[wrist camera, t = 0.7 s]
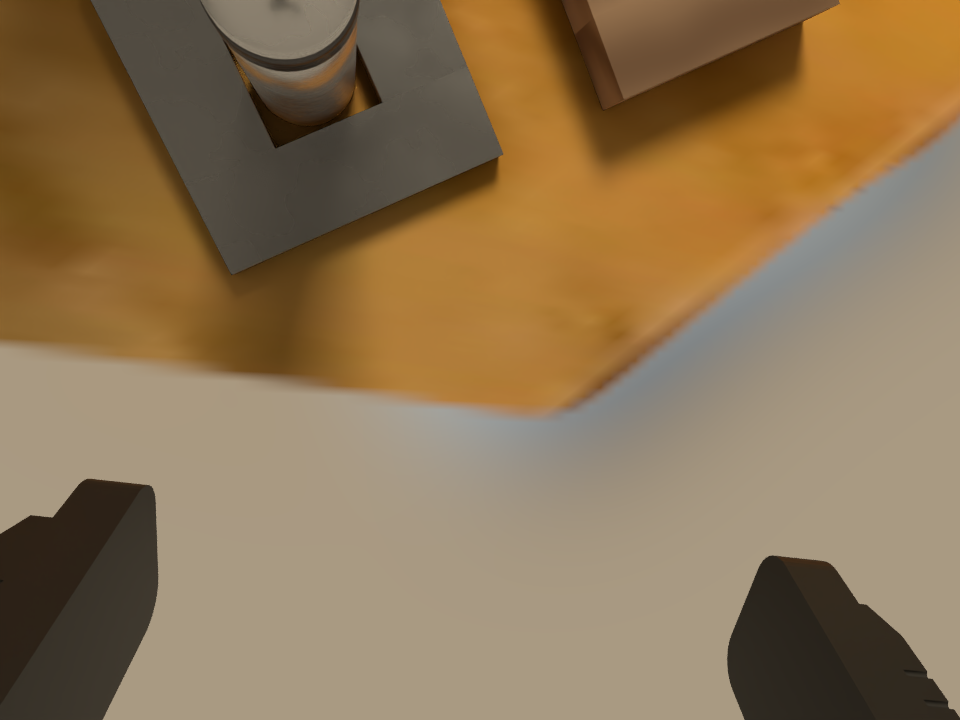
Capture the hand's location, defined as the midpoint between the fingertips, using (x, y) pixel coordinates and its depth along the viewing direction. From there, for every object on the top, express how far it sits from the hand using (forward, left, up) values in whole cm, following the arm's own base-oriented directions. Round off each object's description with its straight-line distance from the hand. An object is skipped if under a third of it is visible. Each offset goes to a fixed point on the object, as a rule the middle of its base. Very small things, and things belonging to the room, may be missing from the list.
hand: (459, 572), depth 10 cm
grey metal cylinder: (-11, +2, -23) cm, 25 cm away
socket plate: (-11, +2, -23) cm, 25 cm away
